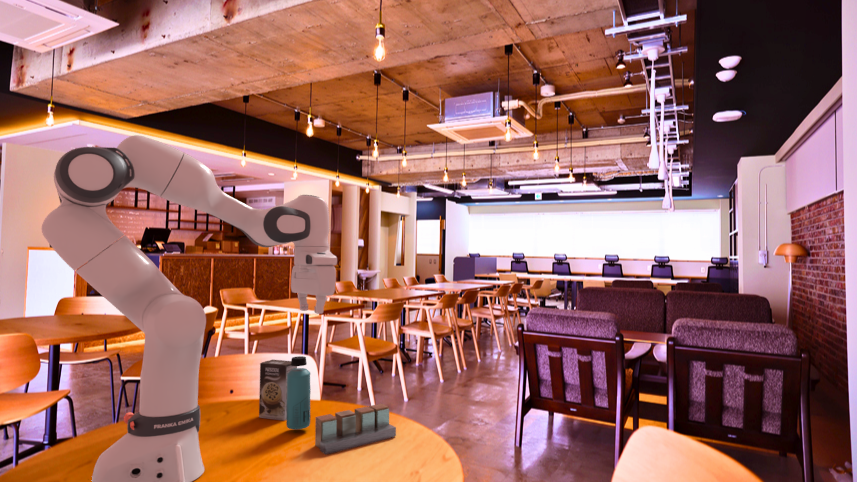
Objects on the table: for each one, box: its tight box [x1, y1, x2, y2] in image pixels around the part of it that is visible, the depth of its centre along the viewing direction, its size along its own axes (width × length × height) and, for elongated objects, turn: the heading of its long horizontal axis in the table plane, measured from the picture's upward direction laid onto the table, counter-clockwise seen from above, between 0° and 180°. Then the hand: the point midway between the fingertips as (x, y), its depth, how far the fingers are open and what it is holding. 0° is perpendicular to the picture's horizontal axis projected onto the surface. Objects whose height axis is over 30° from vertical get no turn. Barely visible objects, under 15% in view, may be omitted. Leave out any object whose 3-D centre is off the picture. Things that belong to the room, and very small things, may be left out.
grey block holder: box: [314, 403, 397, 456], centre depth 122 cm, size 20×7×7 cm, turn 127°
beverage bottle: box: [285, 355, 312, 430], centre depth 130 cm, size 6×7×20 cm
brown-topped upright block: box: [334, 409, 356, 437], centre depth 122 cm, size 4×4×7 cm
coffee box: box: [258, 359, 298, 421], centre depth 142 cm, size 9×6×16 cm
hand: (311, 311), depth 122 cm, fingers open, 8 cm apart
